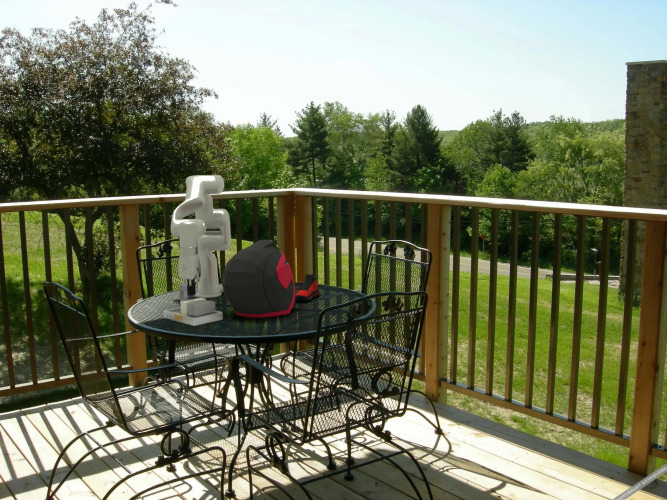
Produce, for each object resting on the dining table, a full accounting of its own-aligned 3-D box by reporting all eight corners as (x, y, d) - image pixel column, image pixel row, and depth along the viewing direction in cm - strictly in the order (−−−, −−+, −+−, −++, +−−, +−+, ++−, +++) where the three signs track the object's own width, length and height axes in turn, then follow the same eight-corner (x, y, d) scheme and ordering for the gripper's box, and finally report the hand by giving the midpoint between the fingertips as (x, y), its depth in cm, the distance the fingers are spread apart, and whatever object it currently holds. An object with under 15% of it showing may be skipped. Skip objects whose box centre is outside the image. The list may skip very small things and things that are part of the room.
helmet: (311, 287, 288) (292, 230, 273) (275, 333, 266) (252, 274, 251) (263, 282, 302) (243, 228, 287) (225, 326, 280) (201, 269, 265)
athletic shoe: (290, 303, 297) (289, 277, 296) (308, 294, 316) (307, 270, 315) (305, 304, 294) (304, 278, 293) (322, 295, 313) (322, 270, 312)
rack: (163, 317, 272) (162, 300, 271) (191, 311, 282) (190, 294, 281) (193, 326, 257) (193, 307, 256) (222, 319, 268) (221, 301, 267)
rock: (198, 305, 294) (196, 283, 293) (187, 307, 290) (186, 285, 289) (184, 302, 301) (183, 281, 300) (174, 305, 297) (173, 282, 296)
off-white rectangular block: (181, 318, 268) (180, 301, 267) (201, 313, 275) (200, 297, 274) (186, 319, 265) (186, 303, 264) (206, 315, 273) (206, 298, 272)
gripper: (171, 250, 268) (173, 294, 271) (192, 253, 258) (194, 298, 261) (186, 248, 274) (188, 291, 276) (208, 251, 264) (209, 295, 266)
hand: (191, 294), depth 268 cm, fingers closed
